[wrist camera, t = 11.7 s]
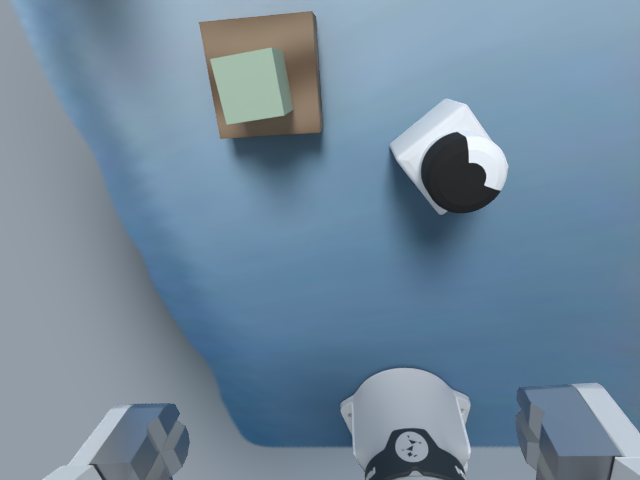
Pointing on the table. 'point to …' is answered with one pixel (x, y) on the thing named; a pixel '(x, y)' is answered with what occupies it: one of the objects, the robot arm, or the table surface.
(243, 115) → the sage green block
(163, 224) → the table surface
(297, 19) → the walnut block
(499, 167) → the medicine bottle
